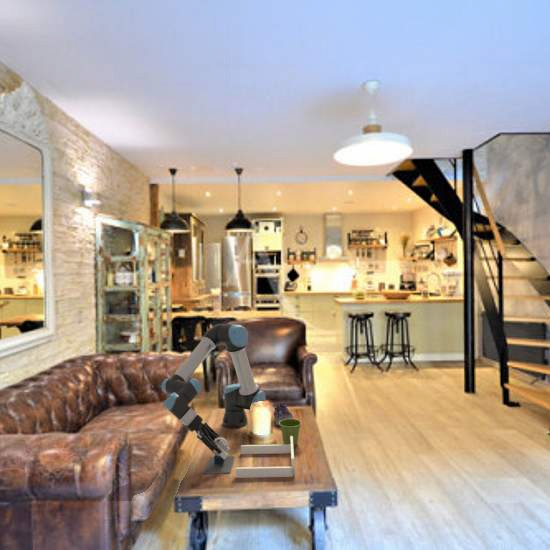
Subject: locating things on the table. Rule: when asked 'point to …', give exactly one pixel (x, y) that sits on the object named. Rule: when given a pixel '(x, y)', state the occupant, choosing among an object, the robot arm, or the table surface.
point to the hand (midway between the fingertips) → (227, 453)
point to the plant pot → (290, 430)
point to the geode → (281, 413)
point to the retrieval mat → (219, 466)
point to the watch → (217, 457)
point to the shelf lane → (267, 471)
